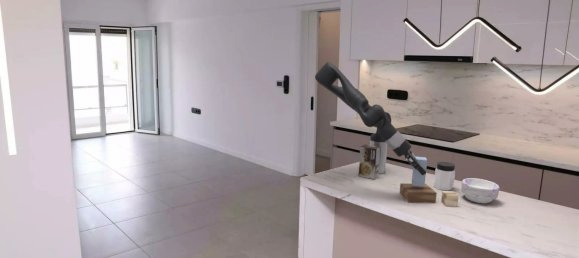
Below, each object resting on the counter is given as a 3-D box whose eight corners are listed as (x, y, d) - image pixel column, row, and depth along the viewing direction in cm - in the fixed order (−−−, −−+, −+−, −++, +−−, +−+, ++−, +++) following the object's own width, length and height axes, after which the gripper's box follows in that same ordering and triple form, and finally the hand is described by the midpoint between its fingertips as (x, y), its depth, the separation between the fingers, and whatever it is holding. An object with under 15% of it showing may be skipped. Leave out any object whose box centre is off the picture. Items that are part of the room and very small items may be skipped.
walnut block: (399, 193, 185) (400, 183, 184) (424, 194, 186) (425, 183, 185) (408, 203, 173) (409, 192, 173) (435, 203, 174) (436, 192, 173)
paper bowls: (501, 207, 171) (504, 190, 170) (464, 204, 174) (466, 186, 173) (491, 195, 186) (493, 179, 184) (457, 192, 189) (458, 176, 187)
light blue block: (411, 182, 182) (414, 156, 179) (423, 183, 181) (425, 157, 178) (412, 185, 177) (415, 159, 174) (424, 186, 176) (427, 160, 173)
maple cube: (441, 202, 175) (442, 191, 175) (452, 202, 176) (453, 191, 175) (445, 206, 171) (447, 195, 170) (457, 206, 171) (458, 195, 170)
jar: (447, 191, 189) (450, 167, 187) (431, 187, 195) (433, 163, 193) (455, 188, 195) (458, 164, 193) (439, 183, 201) (442, 160, 199)
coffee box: (379, 176, 209) (381, 146, 207) (374, 179, 204) (377, 148, 201) (362, 173, 214) (364, 144, 211) (357, 176, 209) (360, 146, 206)
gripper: (390, 145, 185) (415, 173, 185) (391, 152, 171) (418, 182, 171) (403, 135, 183) (428, 162, 183) (405, 141, 169) (432, 171, 169)
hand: (423, 172), depth 177 cm, fingers closed on light blue block, 5 cm apart
